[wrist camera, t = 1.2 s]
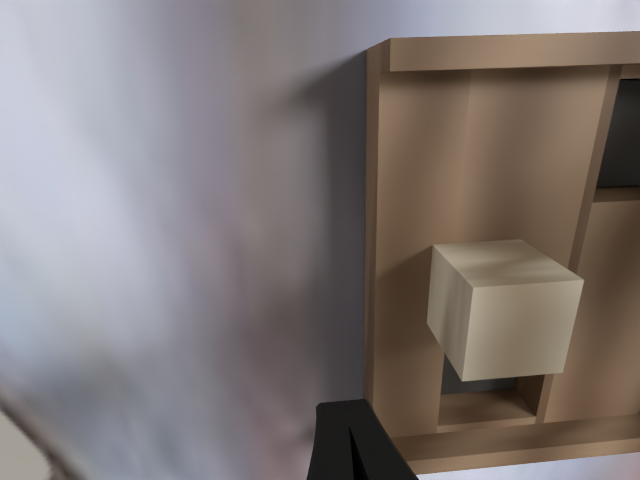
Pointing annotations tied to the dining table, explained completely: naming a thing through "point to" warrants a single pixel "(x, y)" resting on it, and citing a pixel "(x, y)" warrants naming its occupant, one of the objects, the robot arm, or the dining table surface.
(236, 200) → the dining table surface
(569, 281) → the birch block
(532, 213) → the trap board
